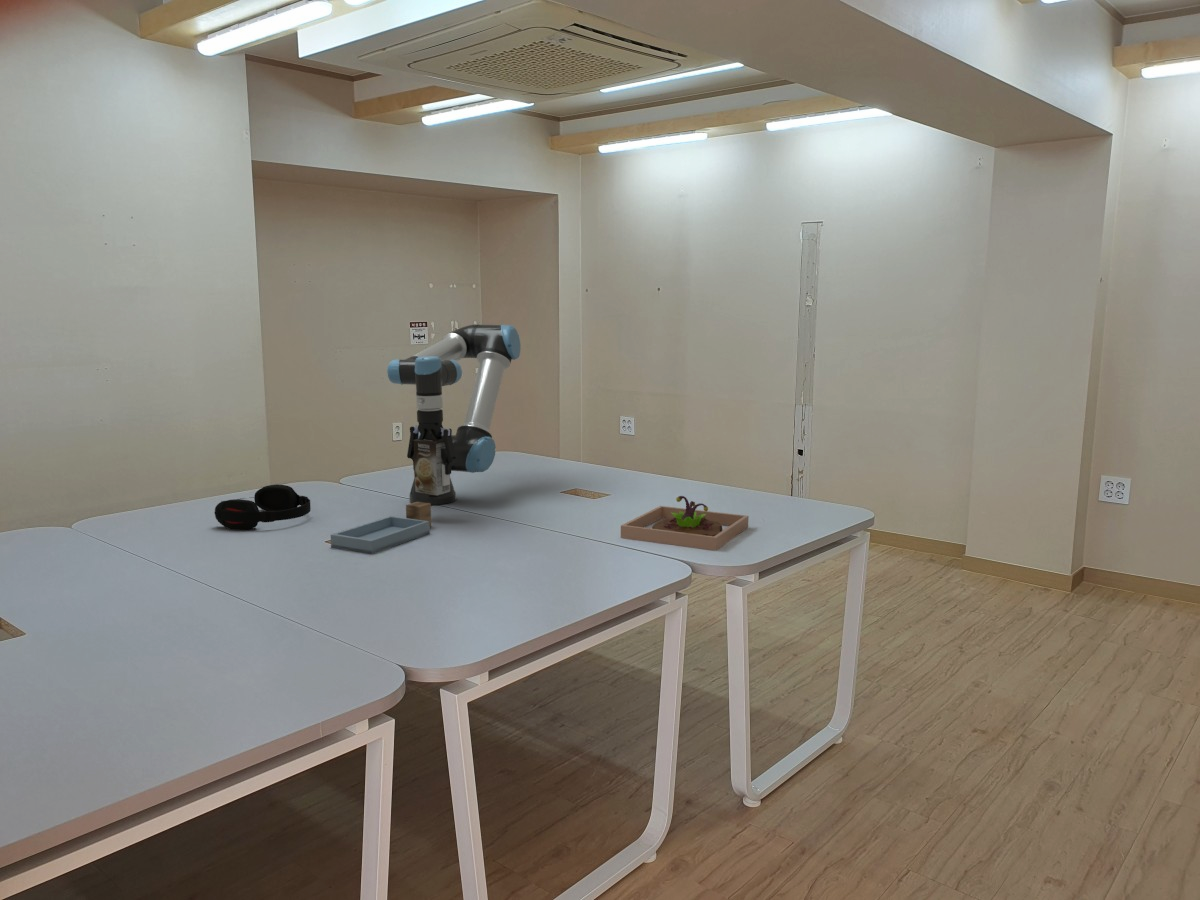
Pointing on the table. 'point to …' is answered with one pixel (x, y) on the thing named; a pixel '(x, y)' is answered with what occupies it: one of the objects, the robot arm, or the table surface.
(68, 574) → the table surface
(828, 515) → the table surface
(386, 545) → the tray
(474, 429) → the robot arm
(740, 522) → the plant saucer
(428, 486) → the coffee box
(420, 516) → the walnut block
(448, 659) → the table surface
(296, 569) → the table surface
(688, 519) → the plant
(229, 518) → the headset
